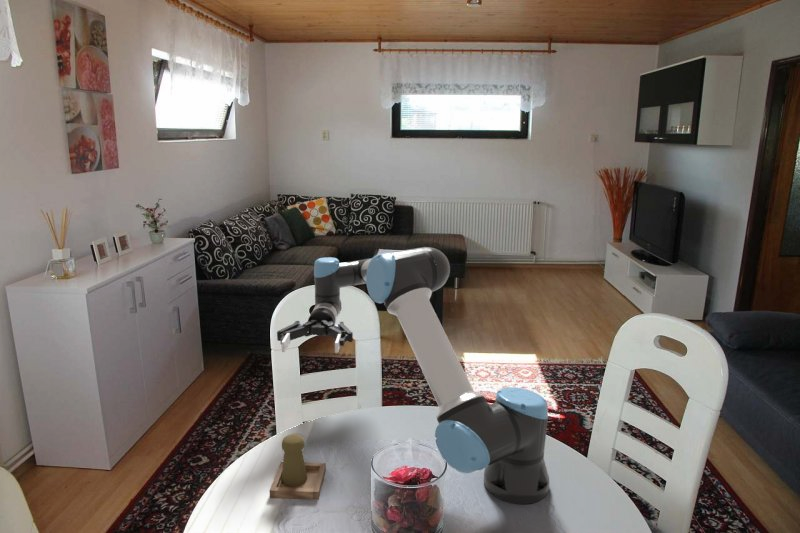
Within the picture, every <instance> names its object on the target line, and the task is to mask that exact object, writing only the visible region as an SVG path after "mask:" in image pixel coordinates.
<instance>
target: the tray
mask: <svg viewBox="0 0 800 533" xmlns="http://www.w3.org/2000/svg"><path fill="white" fill-rule="evenodd" d="M304 462H305V461H304ZM282 468H283V461H280V462H279V465H278V468H277V469H276V473H275V476H274V477H273V481H272V483H271V485H270V488H269V499H282V500H283V499H285V500H287V499H290V500H313V501H314V500H317V501H318V500H319V499H320V495H321V492H322V488H323V483H324V481H325V477H326V476H325V475H326V472H327V463H326V462H309V461H308V462H305V468H306V473H307V481H306V482H305V483H304V484H302V485H300V486H297V487H288V486H285V485H284V484H283V483H282V481H281V478H282Z"/></svg>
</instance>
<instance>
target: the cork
mask: <svg viewBox="0 0 800 533" xmlns="http://www.w3.org/2000/svg"><path fill="white" fill-rule="evenodd" d="M281 449H282V452H283V460H282V462H283V468H282V478H281V481H282V483H283V484H284V485H285V486H288V487H297V486H300V485H302V484H304V483H305V482H306V481H307V473H306V468H305V459H304V452H303V450H304V449H305V438H304V437H303V435H300V434H297V433H290V434H288V435H286V436H284V437H283V438H282V441H281Z"/></svg>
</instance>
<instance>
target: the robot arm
mask: <svg viewBox="0 0 800 533" xmlns="http://www.w3.org/2000/svg"><path fill="white" fill-rule="evenodd" d="M313 265H314V266H313V278H314V279H313V280H314V307H313V310H312V312H310V315H309V317H308V319H307V321H306V322H305V323H301V322H300V320H295V321H294V322H293V323H291V324H290V325H287V326H286V327H283V328H280V329H278V330H277V331H276V335H277V336H276V337H277V340H276V341H277V342H279V341H280V345H281V352H282V353H285V352H286V350H287V349H288V347H289V345H290V344H291V341H293V340H296V339H298V338H302V337H306V338H307V337H311V336H319V337H324V336H326V337H327V338H330V337H331V338H333V339H335V341H334V353H335V354H338V353H339V351H340V348H341V347H343V346H345V344H346V342H348V343H353V342H354V335H353V332H354V331H351V329H349V328H348V327H347V326H346V325H345V322H344V321H339V322H338V323H336V322H337V319H338V317H339V314H340V313H341V312H342V311H341V310H342V300H341V298H340V297H341V288H346V287H352V286H357V285H359V286H360V285H365V284H366V288H367V292H368V295H369V296H370V297H369V298H370V299H371V300H372V302H374V303H377V304H383V303H384V304H383V305H384V306H385V308H386V311H387V312H388V314H390V315H393V316H396V318H397V319H398V321H399V324H400V327H401V328H402V330H403V333H404V335H405V337H406V339H407V341H408V343H409V345H410V348H411V349H412V350H411V351H412V352H413V355H414V356H415V358H416V360H417V363H418V365H419V367H420V369H421V372H422V374H423V375H424V377H425V380H426V382H427V384H428V386H429V388H430V391H431V393H432V395H433V397H434V400H435V401H436V403H437V404H436V405H437V406H438V412H437V415H436V420H437V422H438V425H437V426H436V428H435V430H434V431H435V432H434V437H435V438H436V439H435V443H436V447H437V449H438V453H439V454H440V455H441V457H442V459H443V460H444V459H445V460H446V461H445V460H444V461H445V463H447V464H448V465H449V466H450V468H452V469H455V470H456V471H457V472H460V473H463V474H471V473H474V472H476V471H481V470H483V471H484V472H483V483H484V486H485V488H486V489H487V491H488V493H490V494H491V495H493V496H494V497H496V498H498V499H499V500H502V501H504V502H507V503H510V504H511V503H512V504H519V505H527V504H534V503H537V502H540V501H541V500H543V499H545V497H546V496H547V495H548V494H549V490H550V476H549V474H548V473H549V472H548V470H547V469H548V467H547V466H546V465H547V464H546V461H545V449H546V447H545V446H546V438H547V427H548V419H549V415H548V414H549V410H548V409H549V406H548V403H547V400H546V399H545V398H544V397H543V396H541V395H540V394H538V393H537V392H535V391H533V390H529V389H527V388H526V389H525V388H522V387H514V386H511V387H510V386H508V387H507V386H506V387H502V388H500V389H498V391H497V393H496V395H495V396H494V397H495V402H493V403H490V404H489V403H488V401H487V398H486V397H485V395H484V394H481V393H479V392H477V391H476V392H475V390H474V388H473V387H472V385H471V384H472V383H471V382H470V380H469V378H468V376H467V374H466V372H465V370H464V368H463V366H462V364H461V362H460V360H459V357H458V356H457V354H456V351H455V350H454V347H453V346H452V343H451V342H450V340H449V337H448V335H447V334H446V332H445V329H444V327H443V326H442V324H441V321H440V319H439V318H438V315H437V313H436V312H435V309H434V307H433V305H432V303H431V301H430V299H431V297H432V294H433V292H435V291H437V290H439V289H441V288H442V287H443V286H444V285H445V284H446V283H447V281H448V279H449V277H450V273H451V266H450V261H449V259H448V257H447V256H446V255H445V254H444V253H443V252H442V251H441V250H439V249H437V248H434V247H430V246H429V247H428V246H423V247H422V246H421V247H416V248H410V249H403V250H397V251H386V252H383V253H378V254H376V255H374V256H373V257H372V258H364V259H359V260H353V261H346V262H340V260H339V259H338V258H337V257H331V256H328V257H320V258H317V259H315V261H314V264H313Z"/></svg>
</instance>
